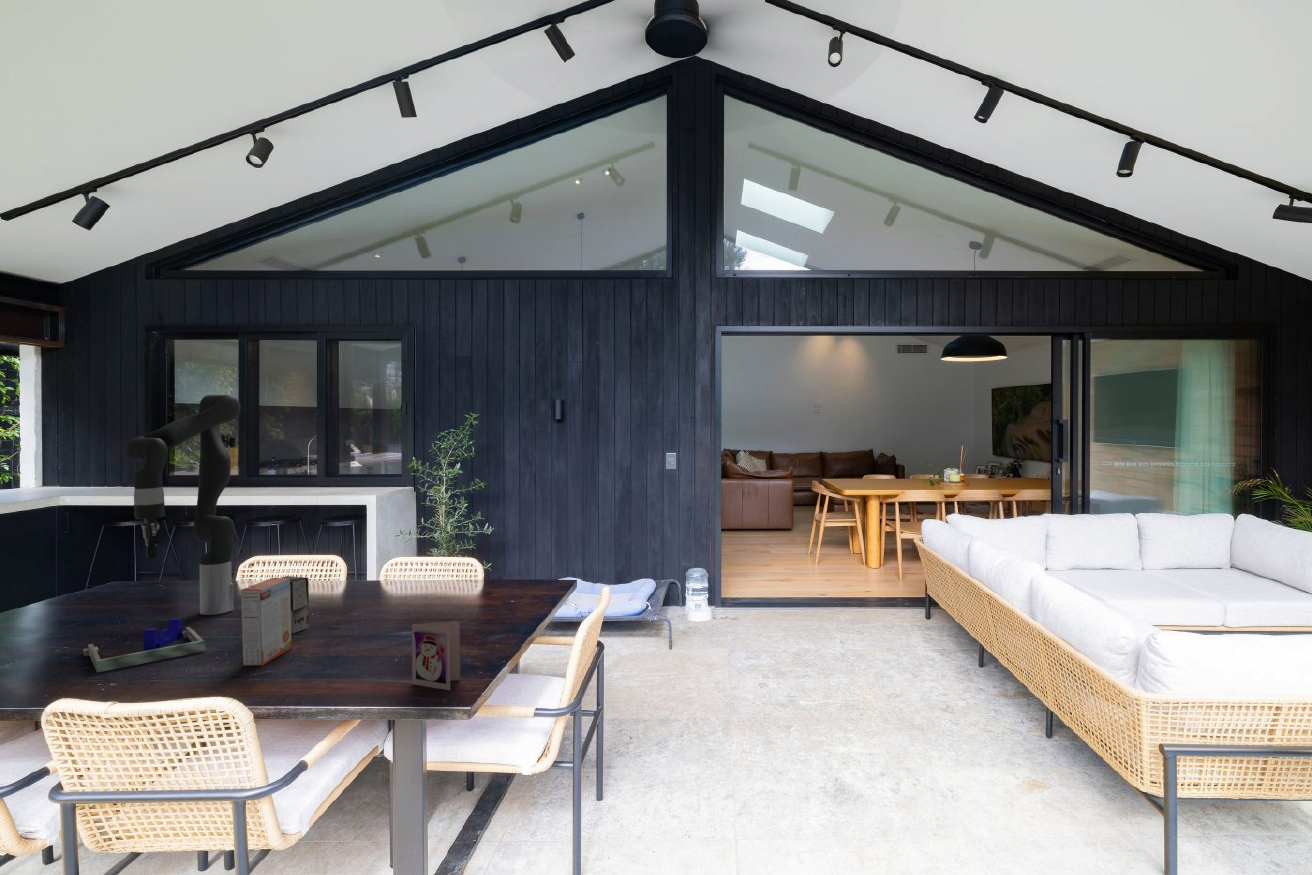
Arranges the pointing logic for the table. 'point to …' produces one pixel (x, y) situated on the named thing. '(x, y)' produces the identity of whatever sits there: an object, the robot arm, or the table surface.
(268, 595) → the cracker box
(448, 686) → the greeting card
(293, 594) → the coffee box
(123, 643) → the table surface
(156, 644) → the blue notched block
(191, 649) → the grey-green open frame
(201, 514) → the robot arm
